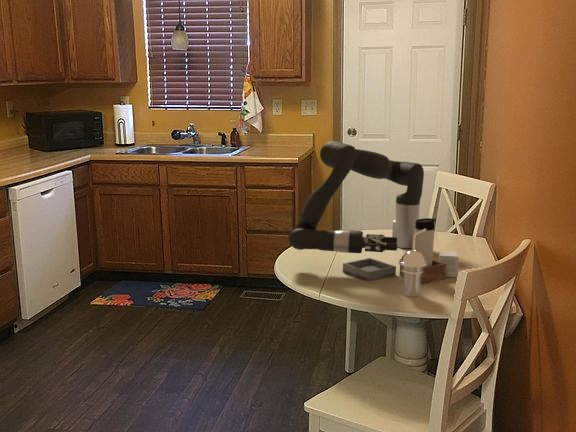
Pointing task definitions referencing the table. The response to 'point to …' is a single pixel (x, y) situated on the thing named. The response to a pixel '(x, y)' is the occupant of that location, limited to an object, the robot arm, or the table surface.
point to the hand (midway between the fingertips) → (397, 243)
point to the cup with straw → (412, 269)
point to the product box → (449, 262)
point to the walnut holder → (432, 272)
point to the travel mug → (425, 239)
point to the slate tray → (369, 269)
